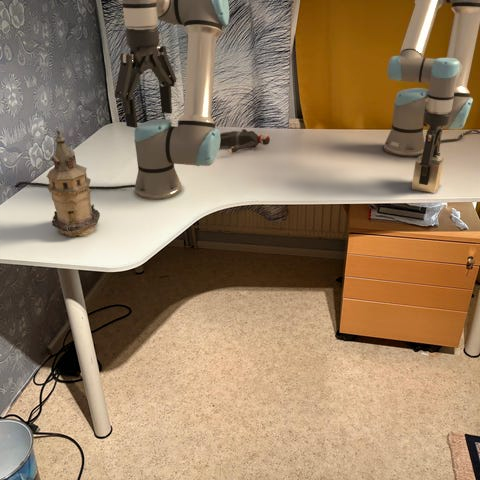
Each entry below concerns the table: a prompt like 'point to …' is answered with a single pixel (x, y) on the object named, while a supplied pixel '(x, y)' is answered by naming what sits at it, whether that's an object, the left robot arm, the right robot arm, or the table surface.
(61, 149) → the miniature building
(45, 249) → the table surface
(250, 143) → the toy
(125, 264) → the table surface
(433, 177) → the block
